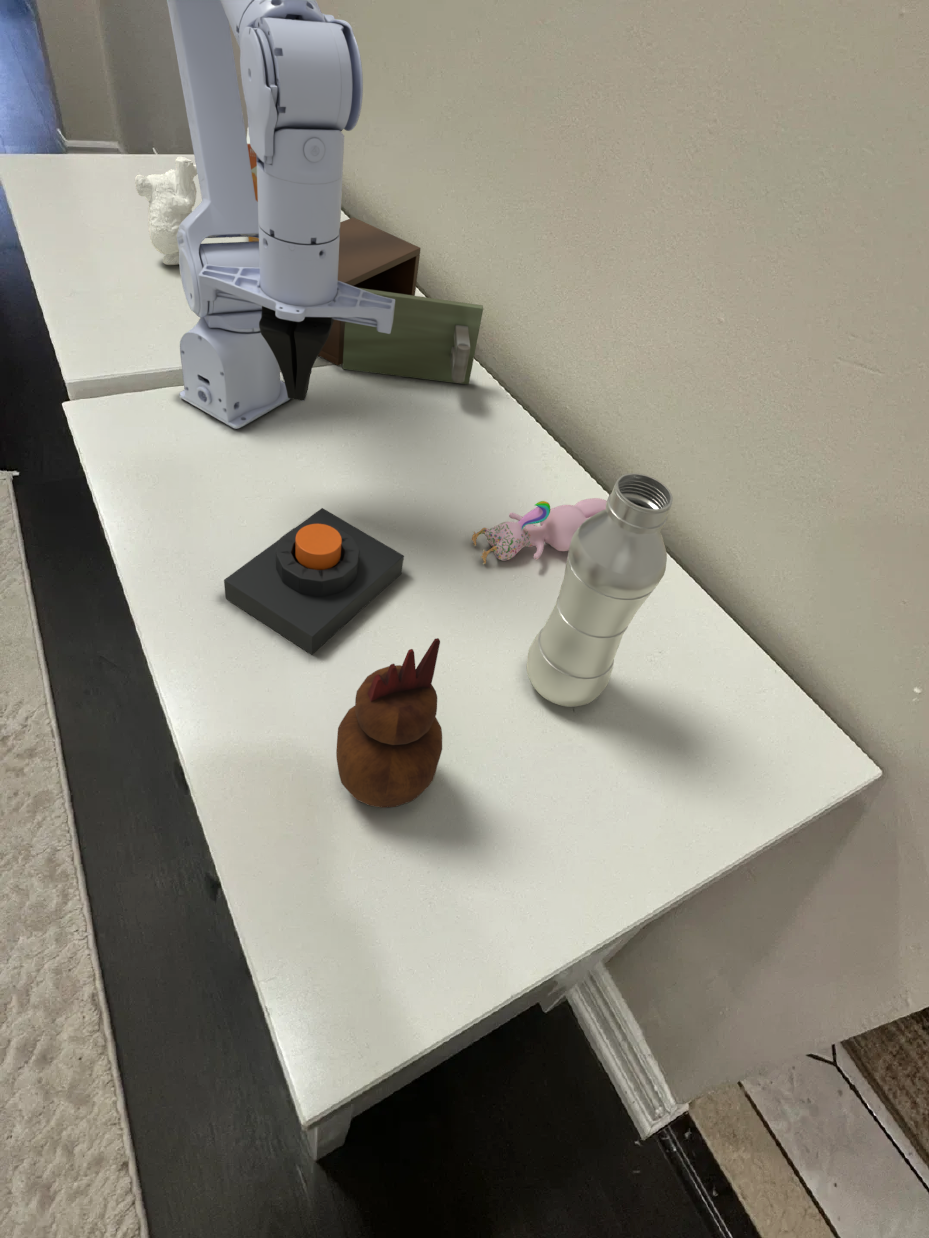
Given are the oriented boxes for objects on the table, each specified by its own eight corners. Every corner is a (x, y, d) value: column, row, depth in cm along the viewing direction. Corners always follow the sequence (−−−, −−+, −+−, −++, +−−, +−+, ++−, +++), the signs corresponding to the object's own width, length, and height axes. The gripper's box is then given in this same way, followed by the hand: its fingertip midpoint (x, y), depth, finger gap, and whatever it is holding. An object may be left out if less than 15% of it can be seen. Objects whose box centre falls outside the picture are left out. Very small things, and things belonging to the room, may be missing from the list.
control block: (311, 654, 60) (312, 621, 57) (225, 598, 62) (222, 563, 59) (401, 573, 67) (406, 540, 64) (321, 526, 70) (322, 491, 67)
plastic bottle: (549, 639, 65) (624, 445, 50) (615, 686, 63) (714, 497, 48) (504, 681, 61) (571, 484, 47) (572, 733, 59) (665, 543, 44)
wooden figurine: (430, 749, 56) (465, 612, 45) (430, 822, 52) (468, 692, 41) (337, 743, 55) (348, 602, 44) (330, 817, 51) (341, 683, 40)
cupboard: (411, 324, 97) (421, 247, 90) (338, 366, 88) (342, 284, 81) (349, 294, 99) (353, 217, 92) (271, 331, 90) (269, 248, 83)
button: (321, 577, 60) (321, 561, 59) (285, 555, 61) (285, 539, 60) (349, 553, 63) (350, 537, 61) (315, 533, 64) (315, 517, 62)
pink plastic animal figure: (488, 588, 70) (634, 547, 73) (491, 542, 65) (646, 501, 69) (464, 542, 73) (603, 504, 77) (465, 495, 69) (613, 458, 72)
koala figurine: (208, 248, 101) (200, 147, 93) (220, 272, 98) (213, 169, 89) (140, 249, 98) (125, 145, 89) (150, 274, 94) (136, 168, 85)
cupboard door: (471, 410, 86) (486, 332, 79) (339, 394, 84) (344, 313, 77) (468, 381, 90) (483, 305, 83) (342, 365, 88) (347, 286, 81)
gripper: (179, 230, 51) (197, 404, 61) (394, 270, 53) (377, 435, 63) (208, 191, 56) (220, 359, 66) (404, 230, 58) (387, 388, 68)
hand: (298, 393), depth 65 cm, fingers closed
